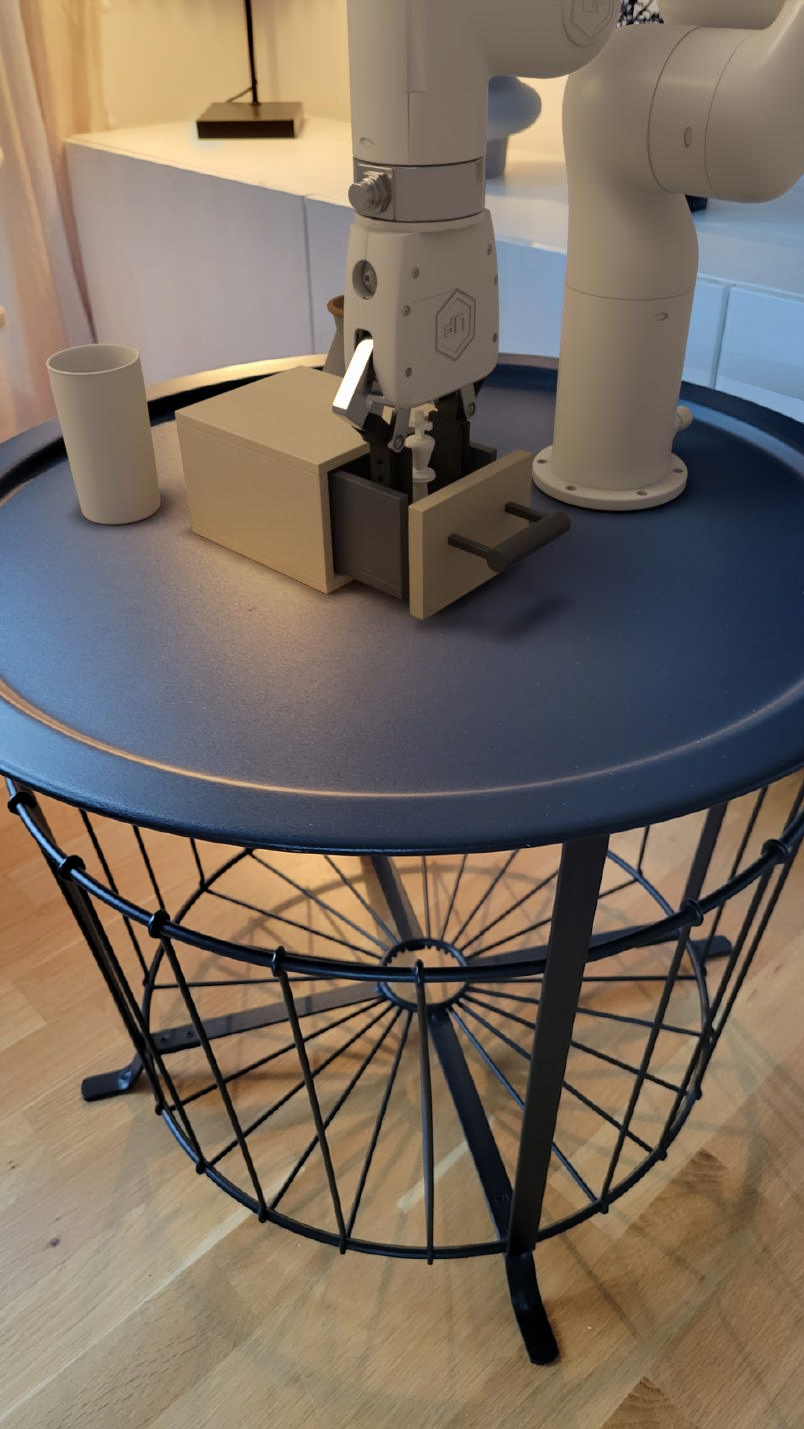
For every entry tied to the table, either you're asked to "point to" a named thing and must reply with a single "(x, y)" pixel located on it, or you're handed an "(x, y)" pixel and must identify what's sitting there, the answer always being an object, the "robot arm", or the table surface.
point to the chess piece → (420, 456)
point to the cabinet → (271, 470)
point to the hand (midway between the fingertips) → (420, 484)
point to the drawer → (438, 528)
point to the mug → (106, 431)
